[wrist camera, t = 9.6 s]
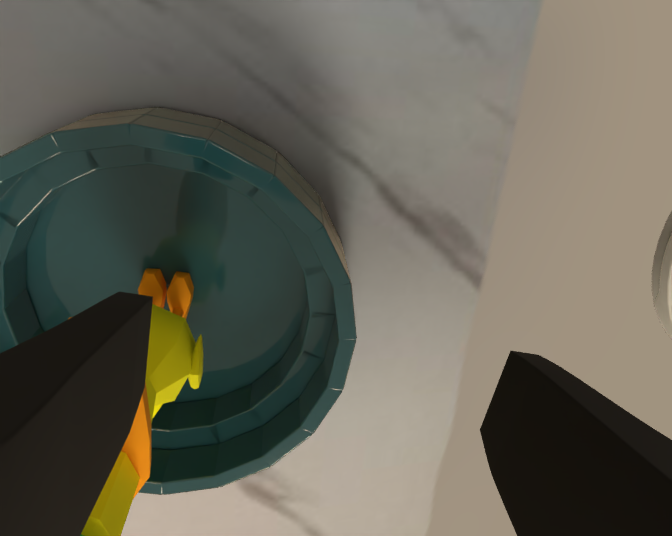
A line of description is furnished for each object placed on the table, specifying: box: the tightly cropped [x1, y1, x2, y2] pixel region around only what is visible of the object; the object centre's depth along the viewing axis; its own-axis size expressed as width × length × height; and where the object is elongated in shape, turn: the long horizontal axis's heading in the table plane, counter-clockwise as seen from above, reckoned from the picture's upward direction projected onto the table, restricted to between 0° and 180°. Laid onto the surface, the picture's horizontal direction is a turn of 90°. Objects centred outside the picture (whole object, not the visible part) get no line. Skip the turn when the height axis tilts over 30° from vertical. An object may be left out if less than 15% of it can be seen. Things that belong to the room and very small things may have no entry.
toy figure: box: [68, 268, 203, 536], centre depth 15 cm, size 7×4×12 cm, turn 172°
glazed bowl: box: [0, 107, 357, 495], centre depth 19 cm, size 13×13×4 cm
